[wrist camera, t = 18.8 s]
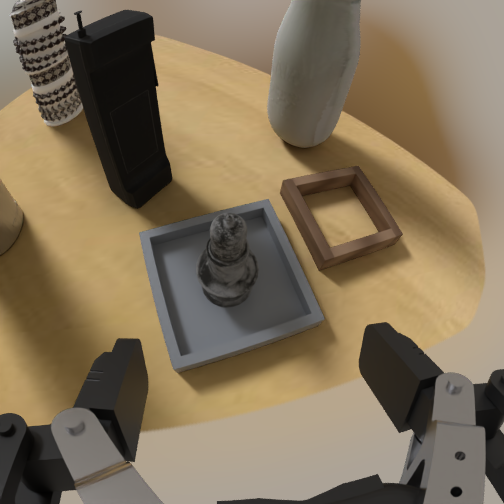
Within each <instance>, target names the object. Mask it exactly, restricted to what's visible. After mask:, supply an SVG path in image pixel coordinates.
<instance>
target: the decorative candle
mask: <svg viewBox="0 0 504 504" xmlns="http://www.w3.org/2000/svg"><path fill="white" fill-rule="evenodd" d="M59 14H60V13H59V9H58V8H57V5H56V0H19V1H18V2H16V3H15V5H14V7H13V10H12V12H11V13H10V14H9V16H11V18H12V22H13V25H14V30H13V31H14V34H15V39H14V41H13V42H14V45H15V46H17V47H16V53H19V54H20V55H21V56H20V62H22V65H23V69H24V70H25V73H26V74H28V75H29V77H30V80H31V82H32V85H31V86H32V88H33V97H35V98H36V103H37V104H38V105H39V112H41V117H42V118H43V119H44V123H45V124H46V125H47V126H58V125H62V124H64V123H67V122H69V121H70V120H72V119H73V118H75V117H76V116H77V115H78V114H79V113H80V112H81V111H82V109H83V105H82V102H81V99H80V95H79V92H78V89H77V85H76V82H75V78H74V75H73V71H72V67H71V64H70V61H69V57H68V52H67V48H66V44H64V41H65V36H67V35H66V34H63V35H62V33H63V32H64V31H65V30H66V27H62V26H60V23H61V22H62V21H64V19H65V18H64V17H62V16H60V15H59ZM18 41H19V43H18ZM20 48H21V50H20Z"/></svg>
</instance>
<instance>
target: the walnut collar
mask: <svg viewBox="0 0 504 504" xmlns="http://www.w3.org/2000/svg"><path fill="white" fill-rule="evenodd" d="M345 186H351V188H352V189H353V191H354V192H355V194H356V195H357V197H358V198H359V200H360V202H361V203H362V205H363V206H364V208H365V210H366V211H367V213H368V215H369V216H370V218H371V220H372V221H373V223H374V225H375V226H376V228H377V230H378V231H379V233H375V234H372V235H369V236H366V237H363V238H360V239H356V240H353V241H350V242H347V243H344V244H341V245H337V246H334V247H331V248H330V247H329V245H328V244H327V242H326V240H325V238H324V236H323V234H322V232H321V230H320V228H319V227H318V225H317V223H316V221H315V219H314V217H313V215H312V214H311V212H310V210H309V208H308V206H307V204H306V203H305V201H304V199H303V197H302V196H305V195H309V194H313V193H318V192H322V191H327V190H331V189H336V188H340V187H345ZM280 194H281V196H282V198H283V200H284V202H285V204H286V206H287V208H288V210H289V211H290V213H291V215H292V217H293V219H294V221H295V223H296V225H297V227H298V229H299V231H300V233H301V235H302V237H303V239H304V241H305V243H306V245H307V247H308V249H309V251H310V253H311V255H312V257H313V259H314V262H315V264H316V266H317V268H318V270H322V269H325V268H328V267H331V266H334V265H337V264H340V263H343V262H346V261H349V260H352V259H354V258H357V257H360V256H363V255H366V254H369V253H372V252H375V251H377V250H380V249H383V248H386V247H389V246H391V245H394V244H395V243H396V242H397V241H398V239H399V238H400V237H401V236H402V235H403V234H402V232H401V230H400V229H399V227H398V225H397V224H396V222H395V220H394V219H393V217H392V216H391V214H390V212H389V211H388V209H387V208H386V206H385V205H384V203H383V201H382V200H381V198H380V197H379V195H378V194H377V192H376V191H375V189H374V188H373V186H372V185H371V183H370V182H369V180H368V179H367V178H366V176H365V175H364V173H363V172H362V170H361V169H360V167H359V166H354V167H349V168H343V169H338V170H332V171H327V172H322V173H317V174H312V175H307V176H302V177H297V178H292V179H287V180H283V183H282V187H281V191H280Z"/></svg>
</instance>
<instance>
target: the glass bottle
mask: <svg viewBox="0 0 504 504" xmlns="http://www.w3.org/2000/svg"><path fill="white" fill-rule="evenodd" d="M360 2H361V0H292V1H291V4H290V6H289V8H288V10H287V12H286V14H285V16H284V19H283V21H282V23H281V26H280V28H279V30H278V33H277V37H276V41H275V46H274V54H273V61H272V72H271V82H270V89H269V96H268V106H267V110H268V118H269V121H270V124H271V126H272V128H273V130H274V131H275V133H276V134H277V135H278V136H279V137H280V138H281V139H283V140H284V141H286V142H287V143H289V144H291V145H294V146H297V147H302V148H308V147H312V146H316V145H318V144H320V143H322V142H324V141H325V140H326V139H327V138H328V137H329V136H330V135H331V133H332V132H333V130H334V128H335V126H336V124H337V122H338V120H339V117H340V114H341V111H342V108H343V105H344V102H345V100H346V97H347V94H348V91H349V88H350V85H351V82H352V80H353V77H354V73H355V70H356V67H357V64H358V60H359V55H360V26H359V23H360Z"/></svg>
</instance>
